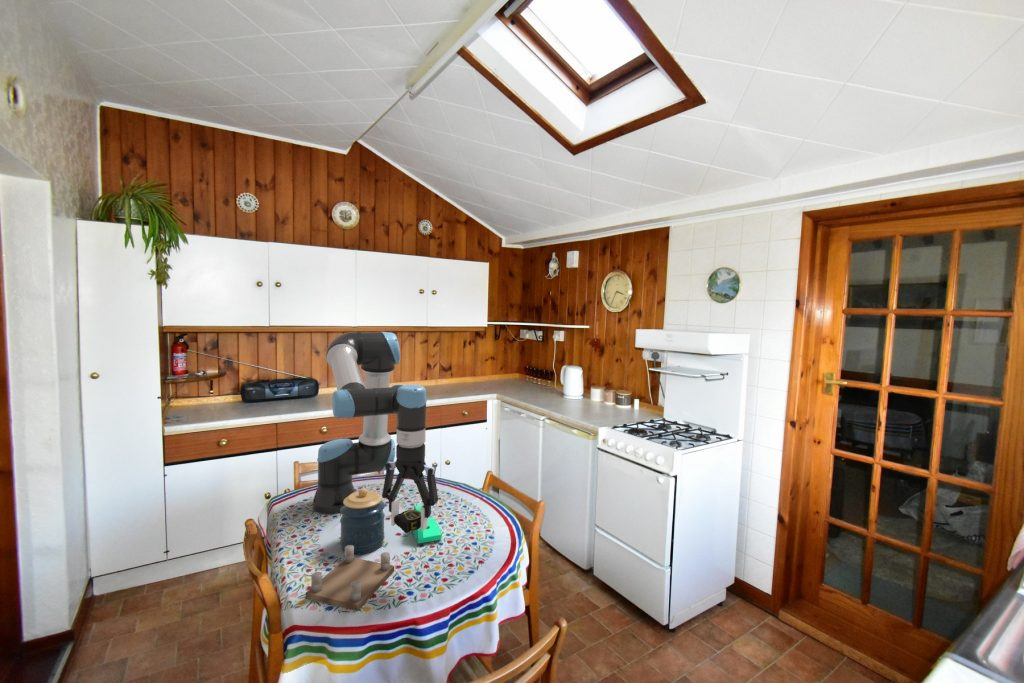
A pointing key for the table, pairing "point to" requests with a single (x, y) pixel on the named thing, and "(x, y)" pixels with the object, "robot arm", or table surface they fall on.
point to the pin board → (350, 581)
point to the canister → (362, 521)
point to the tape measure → (408, 520)
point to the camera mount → (427, 530)
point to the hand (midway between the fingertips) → (409, 525)
